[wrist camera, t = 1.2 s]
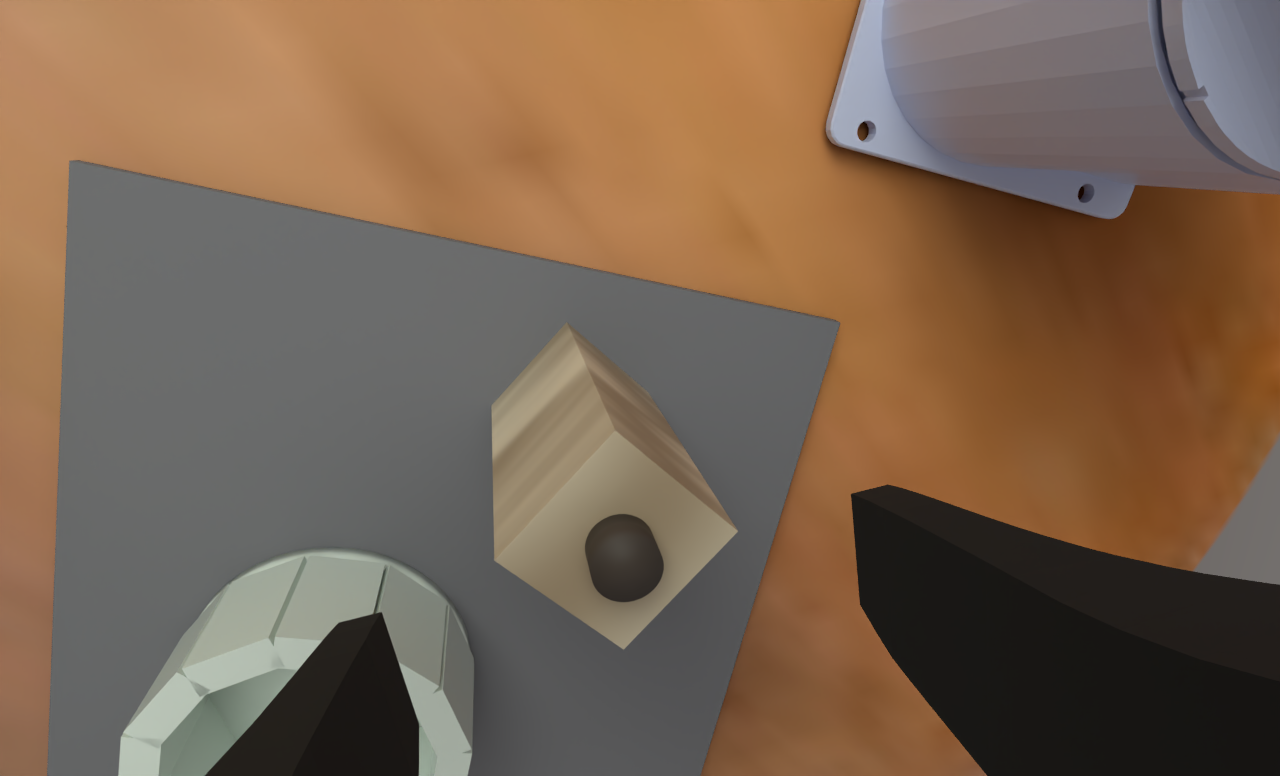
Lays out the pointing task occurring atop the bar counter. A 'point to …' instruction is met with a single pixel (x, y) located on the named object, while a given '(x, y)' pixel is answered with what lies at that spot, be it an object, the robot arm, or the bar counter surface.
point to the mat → (384, 455)
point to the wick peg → (597, 491)
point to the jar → (302, 659)
